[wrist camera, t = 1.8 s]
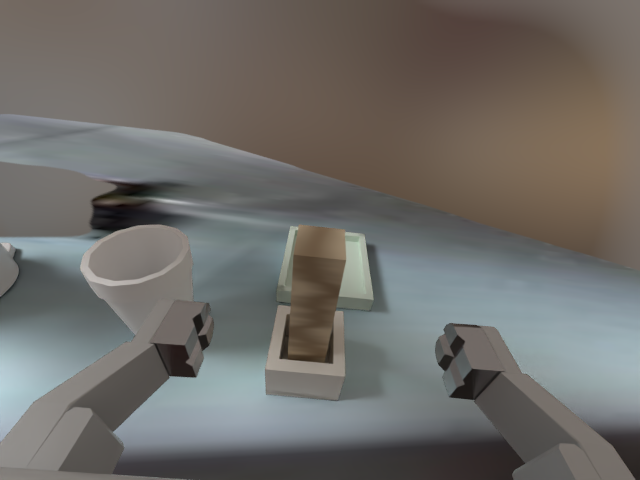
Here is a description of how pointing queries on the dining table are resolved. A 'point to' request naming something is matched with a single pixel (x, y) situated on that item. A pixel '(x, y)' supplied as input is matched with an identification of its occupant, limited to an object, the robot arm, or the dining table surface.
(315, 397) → the white square container
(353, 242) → the tray
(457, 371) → the robot arm
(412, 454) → the dining table surface
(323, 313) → the tan wooden block
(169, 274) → the foam cup
